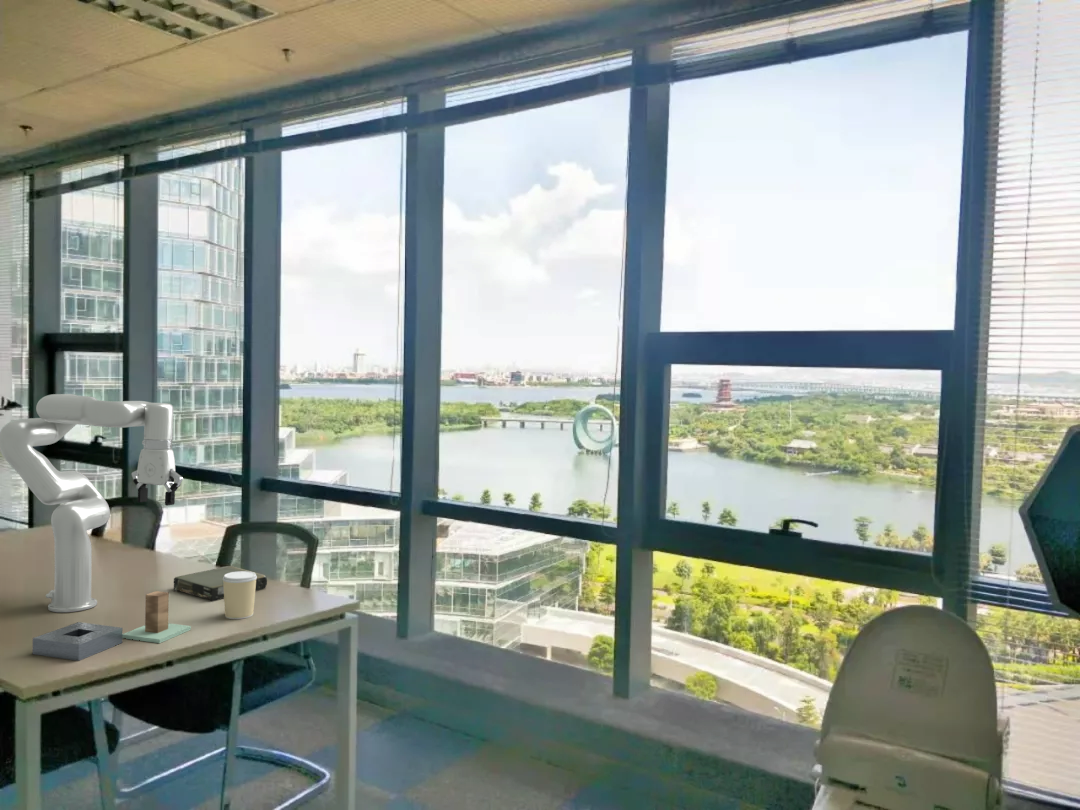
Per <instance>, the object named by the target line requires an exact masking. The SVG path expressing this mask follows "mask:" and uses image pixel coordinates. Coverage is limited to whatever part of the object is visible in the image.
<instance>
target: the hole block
mask: <svg viewBox="0 0 1080 810" xmlns="http://www.w3.org/2000/svg"><path fill="white" fill-rule="evenodd" d="M122 634H123V627H120V626H119V627H118V626H111V625H106V624H97V623H90V622H83V621H78V622H74V623H72V624H69V625H66V626H64V627H60V628H58V629H55V630H51V631H49V632H47V633H43V634H41V635H38V636H36V637H35V636H34V637H33V638H32V655H36V656H43V657H51V658H57V659H63V660H64V659H66V660H71V661H78V662H80V661H81V660H84V659H87V658H88V657H91V656H94V655H97V654H98V653H101V652H103V651H106V650H109V649H111V648H113V647H116V646H118V644H119V645H121V644H123V638H122ZM115 645H116V646H115ZM108 648H109V649H108Z"/></svg>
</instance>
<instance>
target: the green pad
mask: <svg viewBox="0 0 1080 810" xmlns="http://www.w3.org/2000/svg"><path fill="white" fill-rule="evenodd" d="M191 630H192V626H191V625H185V624H178V623H170V622H168V629H167V630H164V631H162V632H159V633H152V632H145V625H142V626H140V627H136V628H135V629H132V630H129V631H127V632H124V633H122V639H124V638H126V640H132V639H133V640H134V641H139V640H140V641H141V642H146V643H147V642H148V643H155V644H161V643H163V642H166V641H168V640H171V639H172V638H175V637H177V636H180V635H181V634H184V633H187V632H189V631H191ZM133 640H132V641H133Z"/></svg>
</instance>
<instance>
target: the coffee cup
mask: <svg viewBox="0 0 1080 810" xmlns="http://www.w3.org/2000/svg"><path fill="white" fill-rule="evenodd" d="M249 571H250V570H248V571H238V572H231V573H227V574H225V575H224V577H223V582H224V598H223V599H224V601H223V602H224V613H225V614H224V615H225V616H224V617H225V618H226V619H230V620H242V619H247V618H251V617H252V616H253V615H254V607H255V599H256V591H255V589H256V579H257V576H256V574H255V573H256V572H255V573H254V571H252V572H249Z"/></svg>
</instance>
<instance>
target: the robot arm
mask: <svg viewBox="0 0 1080 810" xmlns="http://www.w3.org/2000/svg"><path fill="white" fill-rule="evenodd" d="M35 407H36V409H35V410H36V413H37V415H38V416H39V417H35V418H34V417H33V418H32V417H31V418H30V417H29V418H21V419H15V420H12V421H9V422H7V423H6V424H4V426H2V428H1V430H0V454H1V455H2V457H3V458H4V460H5V461H6V462H7V464H8V465H9V466H10V467H11V468H12V469H13V470H14V471H15V472H16V473H17V474H18V475H19V476H20V478H21V480H22V481H23V482H24V483H25V485H26V486H27V487H28V488H29V490H30V491H31V492H32V493H33V495H34V496H35V497H36V498H37V499H38V500H39V501H40V502H41V504H43V505H45V506H54V505H59V506H57V507H56V508H55V509H54V510H53V512H52V514H51V517H50V523H51V528H52V532H53V541H54V589H50V590H49V592H48V593H46V594H45V598H46V599H51V602H50V603H49V604H48V606H47V609H48V610H49V611H50V612H54V613H73V612H74V613H75V612H82V611H85V610H89V609H91V608H94V607H96V606H97V605H98V599H96V598H93V597H92V557H93V556H92V552H93V551H92V542H91V539H90V537H89V535H88V531H90V530H94V529H96V528H99V527H102V526H104V525H105V524H106V523H107V522H108V521H109V519H110V516H111V510H110V507H109V504H108V502H107V501H106V499H105V498H104V497H103V495H102V494H101V493H100V492H99V490H97V488H96V487H95V486H94V484H93V483H92V481H91V480H90V479H89V478H88V477H87V476H86V475H84V474H83V473H82V472H80V471H77V470H64V471H60V470H58V469H57V468H56V467H55V466H54V465H53V464H52V463H51V461H50V460H49V459H48V457H46V456H45V455H44V454H43V453H41V452H40V451H38V450H37V449H35V448H34V447H40V446H48V445H49V446H50V445H52V444H53V445H54V444H55V443H57V442H58V441H60V440H61V439H62V438H63V437H64V436H66V435H67V434H68V433H69V432H70V431H71V430H72V429H73V428H74V427H76V426H77V425H79V426H80V425H82V426H89V427H90V426H91V427H93V426H94V427H105V428H114V429H115V428H117V429H118V428H131V427H133V428H134V427H143V428H144V430H143V439H142V441H141V444H142V445H143V449H140V453H139V456H138V463H137V469H136V470H134V471H132V472H131V477H132V481H133V483H134V484H135V489H137V503H145V502H146V503H147V502H148V498H149V497H148V496H149V495H148V494H149V493H148V492H149V488H148V485H154V486H164V488H165V490H166V491H165V493H164V505H165V506H166V507H167V506H168V507H169V506H173V505H175V502H176V501H175V499H176V498H175V497H176V492H177V491H178V489H179V488H180V486H181V484H182V482H183V480H184V478H183V476H182V475H180V474H179V473H178V472H176V461H175V459H176V458H175V454H174V450H173V431H174V428H173V426H174V406H173V404H171V403H168V402H150V401H144V400H124V401H123V400H122V401H118V400H117V401H113V400H112V401H111V400H100V399H97V398H96V397H94V396H88V395H79V394H78V395H77V394H74V393H62V394H61V393H55V394H54V393H53V394H48V395H45V396H43V397H41V398H40V399H39V400H38V402H37V404H36V406H35Z"/></svg>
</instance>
